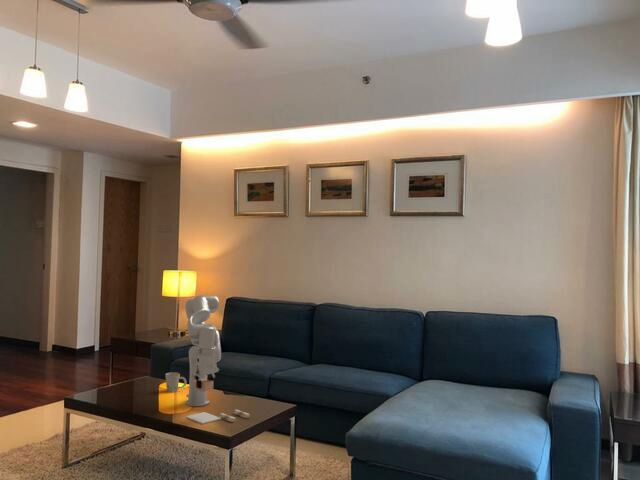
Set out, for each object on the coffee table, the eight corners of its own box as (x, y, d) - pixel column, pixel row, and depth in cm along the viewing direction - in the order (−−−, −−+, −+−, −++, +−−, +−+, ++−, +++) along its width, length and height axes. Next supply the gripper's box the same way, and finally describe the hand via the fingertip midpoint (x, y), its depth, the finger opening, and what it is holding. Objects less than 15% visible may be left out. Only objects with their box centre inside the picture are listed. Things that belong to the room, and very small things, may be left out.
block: (192, 389, 257) (193, 381, 258) (201, 386, 263) (201, 378, 263) (205, 391, 254) (205, 383, 254) (213, 389, 259) (213, 381, 259)
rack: (219, 417, 259) (219, 413, 259) (235, 413, 267) (236, 409, 267) (233, 422, 252) (233, 418, 252) (249, 418, 260) (249, 414, 260)
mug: (166, 389, 311) (166, 372, 312) (187, 389, 313) (188, 372, 313) (163, 392, 303) (164, 375, 303) (185, 392, 304) (186, 375, 305)
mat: (186, 417, 258) (186, 416, 258) (204, 413, 266) (204, 411, 266) (202, 424, 248) (202, 422, 248) (221, 419, 256) (221, 418, 256)
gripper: (196, 354, 249) (194, 391, 249) (224, 350, 262) (223, 385, 262) (187, 352, 254) (185, 388, 254) (215, 348, 267) (214, 382, 267)
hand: (205, 386), depth 258 cm, fingers closed on block, 6 cm apart
